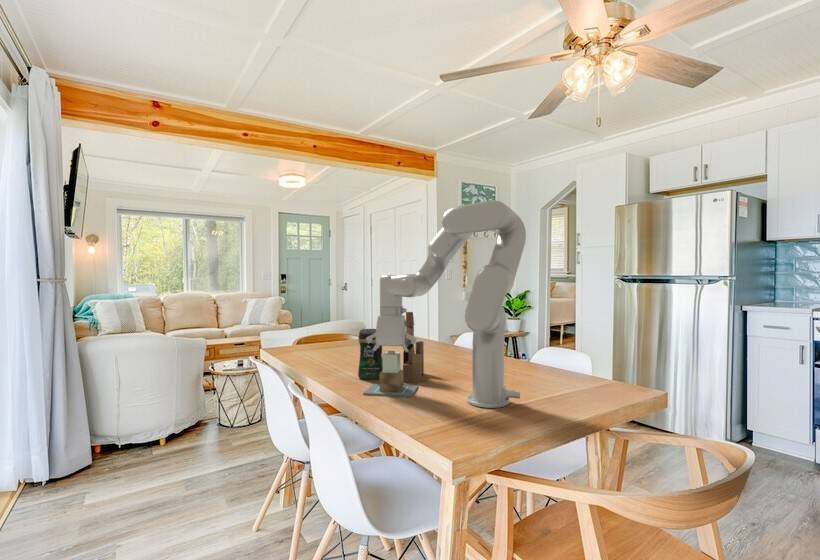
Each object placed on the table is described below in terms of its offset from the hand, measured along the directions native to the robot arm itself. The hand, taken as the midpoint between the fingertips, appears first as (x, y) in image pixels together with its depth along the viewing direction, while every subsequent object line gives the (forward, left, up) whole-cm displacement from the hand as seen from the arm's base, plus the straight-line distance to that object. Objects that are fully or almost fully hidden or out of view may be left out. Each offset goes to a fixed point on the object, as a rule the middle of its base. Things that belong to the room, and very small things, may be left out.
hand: (391, 362), depth 141 cm
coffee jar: (+12, -17, -10) cm, 23 cm away
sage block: (0, 0, -3) cm, 3 cm away
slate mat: (0, 0, -9) cm, 9 cm away
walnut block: (0, 0, -9) cm, 9 cm away
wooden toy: (-4, -20, -10) cm, 23 cm away
